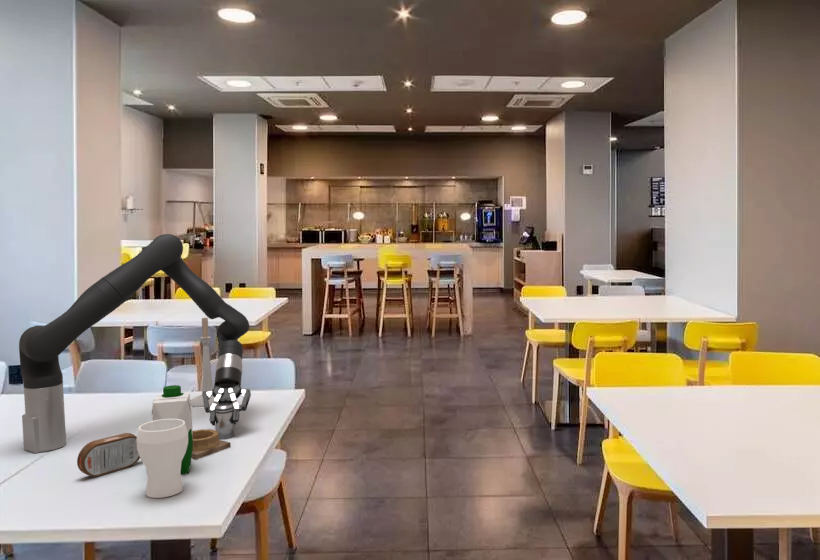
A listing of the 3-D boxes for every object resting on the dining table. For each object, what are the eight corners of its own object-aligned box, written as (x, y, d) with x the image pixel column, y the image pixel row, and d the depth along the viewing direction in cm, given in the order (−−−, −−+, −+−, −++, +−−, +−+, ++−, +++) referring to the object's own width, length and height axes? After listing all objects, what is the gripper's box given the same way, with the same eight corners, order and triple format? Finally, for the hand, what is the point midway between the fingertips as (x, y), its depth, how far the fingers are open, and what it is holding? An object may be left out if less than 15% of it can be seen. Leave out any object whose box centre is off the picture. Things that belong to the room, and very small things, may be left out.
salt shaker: (224, 440, 170) (223, 408, 170) (212, 437, 173) (210, 406, 172) (238, 435, 175) (237, 404, 174) (226, 432, 177) (225, 401, 177)
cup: (196, 481, 141) (193, 417, 140) (181, 500, 131) (178, 431, 130) (150, 482, 141) (147, 418, 140) (130, 502, 130) (127, 433, 129)
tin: (139, 460, 156) (138, 428, 155) (145, 463, 154) (144, 430, 153) (77, 479, 144) (75, 444, 143) (83, 482, 142) (81, 447, 141)
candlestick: (186, 400, 214) (183, 315, 212) (224, 396, 220) (221, 313, 218) (190, 409, 203) (186, 320, 201) (230, 404, 208) (226, 317, 206)
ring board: (196, 459, 155) (195, 444, 155) (169, 452, 161) (168, 437, 161) (230, 446, 165) (230, 432, 164) (203, 440, 171) (203, 426, 170)
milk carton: (195, 461, 154) (191, 383, 153) (192, 474, 145) (188, 392, 144) (157, 465, 152) (154, 386, 150) (152, 479, 143) (148, 395, 142)
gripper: (201, 366, 179) (195, 418, 168) (252, 364, 181) (248, 415, 170) (206, 380, 185) (199, 431, 174) (254, 378, 187) (251, 428, 175)
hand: (223, 423), depth 172 cm, fingers closed on salt shaker, 5 cm apart
